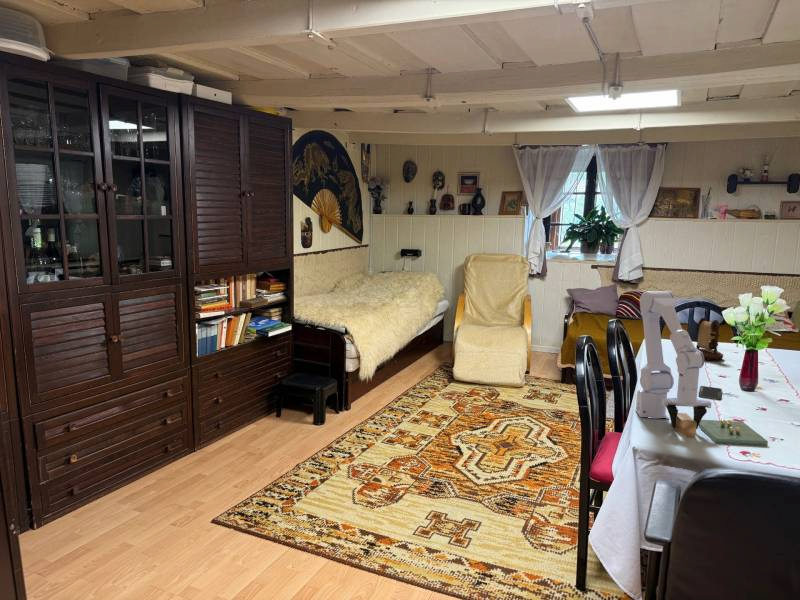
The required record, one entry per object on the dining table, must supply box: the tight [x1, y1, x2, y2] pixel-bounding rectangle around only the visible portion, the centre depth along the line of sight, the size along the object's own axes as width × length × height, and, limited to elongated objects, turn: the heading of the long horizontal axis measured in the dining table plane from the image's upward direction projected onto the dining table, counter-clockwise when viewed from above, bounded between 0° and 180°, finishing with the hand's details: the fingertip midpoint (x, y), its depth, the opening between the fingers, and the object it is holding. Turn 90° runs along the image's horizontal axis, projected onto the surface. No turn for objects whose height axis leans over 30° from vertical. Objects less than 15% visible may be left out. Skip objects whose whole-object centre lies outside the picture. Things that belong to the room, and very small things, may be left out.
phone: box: [698, 385, 723, 401], centre depth 228 cm, size 8×1×15 cm
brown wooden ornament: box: [695, 317, 724, 362], centre depth 285 cm, size 15×15×20 cm
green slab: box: [698, 419, 769, 447], centre depth 185 cm, size 15×17×4 cm
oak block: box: [675, 412, 697, 438], centre depth 187 cm, size 4×9×5 cm, turn 172°
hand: (684, 427), depth 187 cm, fingers open, 6 cm apart
